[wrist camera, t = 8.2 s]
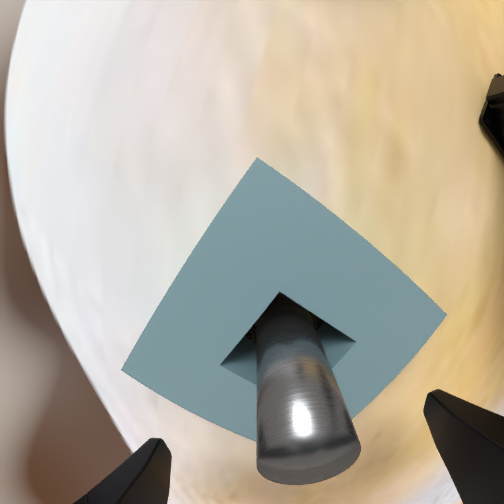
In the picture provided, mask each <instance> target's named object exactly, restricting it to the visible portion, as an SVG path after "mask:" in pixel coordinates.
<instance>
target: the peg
mask: <svg viewBox="0 0 504 504" xmlns="http://www.w3.org/2000/svg"><path fill="white" fill-rule="evenodd" d="M256 386H257V469H258V471H259V473H260V474H261V475H262V476H263V477H265V478H266V479H268V480H270V481H273V482H276V483H280V484H287V485H303V484H311V483H316V482H320V481H323V480H326V479H329V478H332V477H334V476H336V475H338V474H340V473H342V472H343V471H345V470H346V469H348V468H349V467H350V466H351V465H352V464H353V463H354V462H355V461H356V460H357V458H358V457H359V455H360V452H361V445H360V442H359V439H358V436H357V434H356V431H355V428H354V425H353V423H352V420H351V417H350V415H349V412H348V409H347V407H346V404H345V402H344V399H343V396H342V394H341V391H340V389H339V386H338V383H337V381H336V378H335V376H334V373H333V371H332V368H331V366H330V363H329V361H328V358H327V356H326V353H325V351H324V348H323V346H322V343H321V341H320V338H319V336H318V333H317V331H316V329H315V326H314V324H313V321H312V319H311V316H310V314H309V312H308V310H307V309H306V308H304V307H303V306H301V305H300V304H298V303H297V302H295V301H293V300H292V299H290V298H289V297H287V296H286V295H284V294H283V293H278V294H277V295H276V296H275V298H274V299H273V300H272V302H271V303H270V304H269V305H268V307H267V308H266V309H265V310H264V312H263V313H262V314H261V315H260V317H259V318H258V319H257V320H256Z"/></svg>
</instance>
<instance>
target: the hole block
mask: <svg viewBox="0 0 504 504" xmlns="http://www.w3.org/2000/svg"><path fill="white" fill-rule="evenodd" d="M279 291H280V292H281V293H283V294H284V295H286V296H287V297H289V298H290V299H292V300H293V301H295V302H297V303H298V304H300V305H301V306H303V307H304V308H306V309H307V310H309V311H310V312H312V313H313V314H315V315H316V316H318V317H319V318H321V319H322V320H324V322H323V323H322V324H321V325H320V326H319V328H318V329H317V330H316V331H317V333H318V336H319V338H320V341H321V343H322V346H323V348H324V351H325V353H326V356H327V358H328V361H329V363H330V366H331V368H332V371H333V373H334V376H335V378H336V381H337V383H338V386H339V389H340V391H341V394H342V396H343V399H344V402H345V404H346V407H347V409H348V412H349V415H350V417H351V419H352V418H353V417H355V416H356V415H357V414H358V413H359V412H360V411H361V410H362V409H363V408H365V407H366V406H367V405H368V404H369V403H370V402H371V401H372V400H373V399H374V398H375V397H376V396H377V395H378V394H379V393H380V392H381V391H382V390H383V389H384V388H385V387H386V386H387V385H388V384H389V383H390V382H391V381H392V380H393V379H394V378H395V377H396V376H397V375H398V374H399V373H400V372H401V371H402V370H403V368H404V367H405V366H406V365H407V364H408V363H409V362H410V361H411V360H412V358H413V357H414V356H415V355H416V354H417V353H418V351H419V350H420V349H421V348H422V347H423V345H424V344H425V343H426V342H427V340H428V339H429V338H430V337H431V335H432V334H433V333H434V332H435V330H436V329H437V328H438V326H439V325H440V324H441V322H442V321H443V320H444V318H445V317H446V316H447V314H446V313H445V312H444V311H443V310H442V309H441V308H440V307H439V306H438V305H437V304H436V303H435V302H434V301H433V300H432V299H431V298H430V297H429V296H428V295H427V294H426V293H425V292H424V291H422V290H421V289H420V288H419V287H418V286H417V285H416V284H415V283H414V282H413V281H412V280H411V279H410V278H409V277H408V276H406V275H405V274H404V273H403V272H402V271H401V270H400V269H399V268H398V267H397V266H395V265H394V264H393V263H392V262H391V261H390V260H389V259H388V258H386V257H385V256H384V255H383V254H382V253H381V252H380V251H378V250H377V249H376V248H375V247H374V246H373V245H371V244H370V243H369V242H368V241H367V240H365V239H364V238H363V237H362V236H361V235H359V234H358V233H357V232H356V231H355V230H353V229H352V228H351V227H350V226H349V225H347V224H346V223H345V222H344V221H342V220H341V219H340V218H339V217H337V216H336V215H335V214H334V213H332V212H331V211H330V210H328V209H327V208H326V207H325V206H323V205H322V204H321V203H319V202H318V201H317V200H315V199H314V198H313V197H312V196H310V195H309V194H308V193H306V192H305V191H304V190H302V189H301V188H299V187H298V186H297V185H295V184H294V183H293V182H291V181H290V180H289V179H287V178H286V177H284V176H283V175H282V174H280V173H279V172H277V171H276V170H275V169H273V168H272V167H270V166H269V165H267V164H266V163H265V162H263V161H262V160H260V159H259V158H256V160H255V161H254V162H253V164H252V165H251V167H250V168H249V169H248V171H247V172H246V174H245V175H244V176H243V178H242V179H241V181H240V182H239V183H238V185H237V186H236V188H235V189H234V191H233V192H232V193H231V195H230V196H229V198H228V199H227V201H226V202H225V204H224V205H223V206H222V208H221V209H220V211H219V212H218V214H217V215H216V217H215V218H214V220H213V221H212V223H211V224H210V226H209V227H208V229H207V230H206V232H205V233H204V235H203V236H202V238H201V239H200V241H199V242H198V244H197V245H196V247H195V248H194V250H193V251H192V253H191V255H190V256H189V258H188V259H187V261H186V262H185V264H184V265H183V267H182V269H181V270H180V272H179V273H178V275H177V276H176V278H175V280H174V281H173V283H172V284H171V286H170V288H169V289H168V291H167V293H166V294H165V296H164V297H163V299H162V301H161V302H160V304H159V306H158V307H157V309H156V311H155V312H154V314H153V316H152V317H151V319H150V321H149V322H148V324H147V326H146V327H145V329H144V331H143V333H142V334H141V336H140V338H139V339H138V341H137V343H136V345H135V346H134V348H133V350H132V352H131V353H130V355H129V357H128V359H127V360H126V362H125V364H124V366H123V368H122V369H121V370H122V371H123V372H125V373H126V374H128V375H129V376H131V377H132V378H134V379H135V380H137V381H138V382H140V383H141V384H143V385H145V386H146V387H148V388H149V389H151V390H153V391H154V392H156V393H158V394H159V395H161V396H163V397H165V398H166V399H168V400H170V401H172V402H173V403H175V404H177V405H179V406H181V407H182V408H184V409H186V410H188V411H190V412H192V413H194V414H196V415H198V416H200V417H202V418H204V419H206V420H208V421H210V422H212V423H214V424H216V425H218V426H221V427H223V428H225V429H227V430H229V431H232V432H234V433H236V434H239V435H241V436H244V437H246V438H248V439H251V440H253V441H256V442H257V386H256V343H254V342H253V341H251V340H249V339H248V338H246V337H244V335H245V334H246V333H247V332H248V330H249V329H250V328H251V327H252V325H253V324H254V323H255V322H256V320H257V319H258V318H259V317H260V315H261V314H262V313H263V312H264V310H265V309H266V308H267V307H268V305H269V304H270V303H271V302H272V300H273V299H274V298H275V296H276V295H277V294H278V293H279Z"/></svg>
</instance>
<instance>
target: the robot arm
mask: <svg viewBox="0 0 504 504" xmlns="http://www.w3.org/2000/svg"><path fill="white" fill-rule="evenodd" d="M479 119H480V123H481V125H482V126H483V128H484V129H485V130H486V132H487V133H488V135H489V136H490V137H491V139H492V140H493V142H494V143H495V145H496V146H497V148H498V149H499V151H500V152H501V154H502V155H503V157H504V75H503V76H502V75H501V74H499V73H498V74H495V75H494V78H493V79H492V81H491V84H490V87H489V90H488V93H487V96H486V101H485V104H484V107H483V109H482V112H481V114H480V118H479ZM423 412H424V416H425V418H426V421H427V423H428V426H429V429H430V431H431V434H432V437H433V440H434V442H435V445H436V447H437V449H438V451H439V453H440V455H441V457H442V459H443V461H444V463H445V465H446V467H447V469H448V472H449V474H450V476H451V478H452V480H453V482H454V484H455V486H456V489H457V491H458V493H459V495H460V497H461V500H462V502H463V504H504V417H503V416H501V415H498V414H496V413H493V412H491V411H489V410H486V409H484V408H481V407H479V406H477V405H474V404H472V403H470V402H467V401H465V400H463V399H460V398H458V397H456V396H453V395H451V394H449V393H447V392H444V391H442V390H440V389H436V390H434V391H432V392H429V393H428V394H427V397H426V401H425V405H424V409H423ZM171 459H172V456H171V452H170V450H169V448H168V447H167V445H166V444H165V442H164V440H163V439H161V438H150V439H149V440H148V441H146V442H145V443H144V444H143V445H142V446H141V447H140V448H139V449H138V450H137V451H135V452H134V453H133V454H132V455H131V456H130V457H129V458H128V459H127V460H125V461H124V462H123V463H122V464H121V465H120V466H119V467H117V468H116V469H115V470H114V471H113V472H112V473H110V474H109V475H108V476H107V477H106V478H105V479H103V480H102V481H101V482H100V483H99V484H97V485H96V486H95V487H94V488H92V489H91V490H90V491H89V492H88V493H87V494H85V495H84V496H83V497H81V498H80V499H79V500H77V501H76V502H75V503H73V504H167V501H168V496H169V488H170V473H171Z"/></svg>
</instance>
